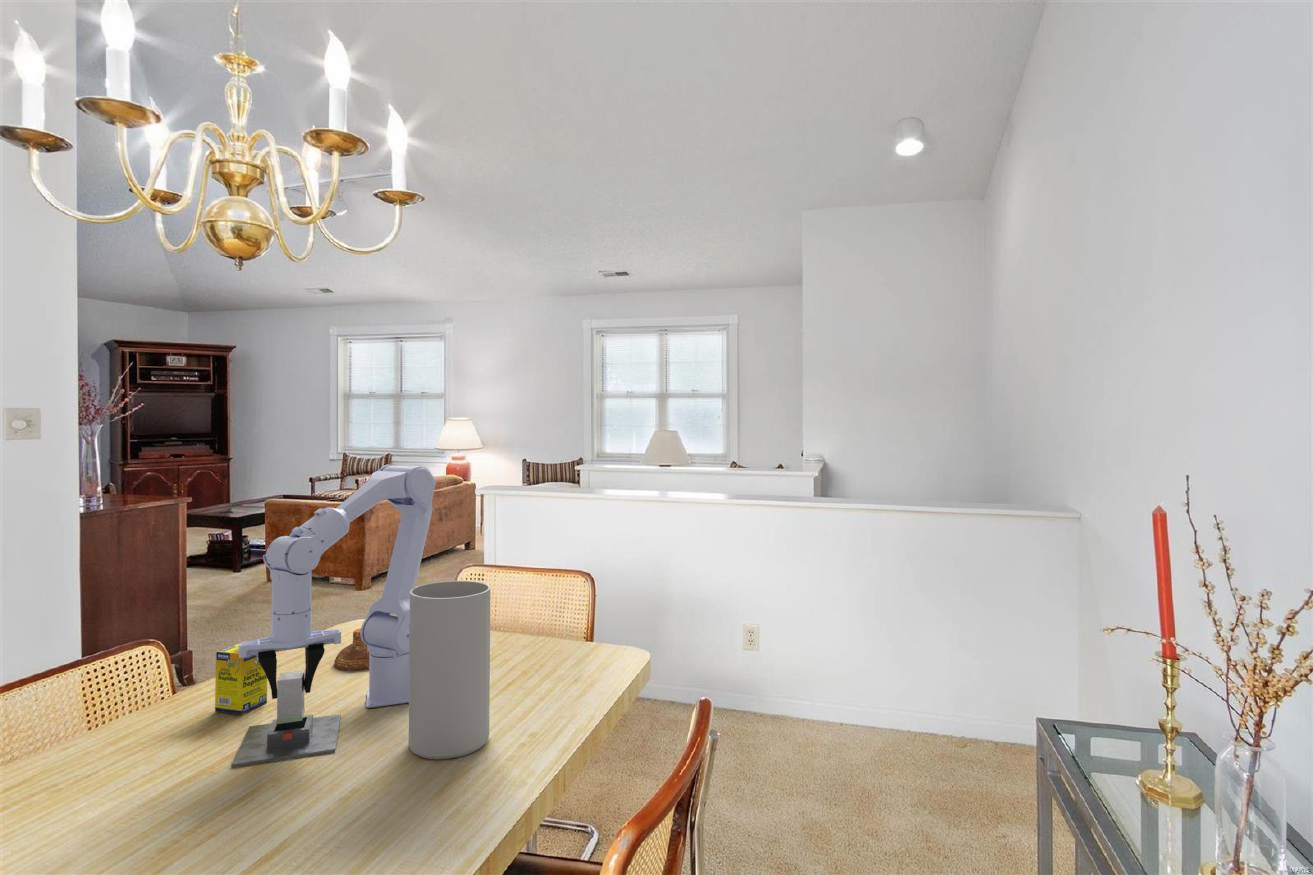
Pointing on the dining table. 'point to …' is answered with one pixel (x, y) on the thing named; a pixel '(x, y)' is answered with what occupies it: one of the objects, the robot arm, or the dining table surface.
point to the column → (290, 697)
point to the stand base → (288, 740)
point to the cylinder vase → (449, 668)
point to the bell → (353, 655)
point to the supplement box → (238, 682)
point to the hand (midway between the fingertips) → (291, 693)
